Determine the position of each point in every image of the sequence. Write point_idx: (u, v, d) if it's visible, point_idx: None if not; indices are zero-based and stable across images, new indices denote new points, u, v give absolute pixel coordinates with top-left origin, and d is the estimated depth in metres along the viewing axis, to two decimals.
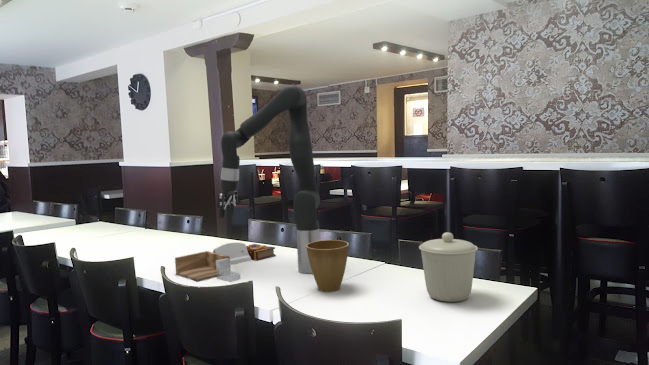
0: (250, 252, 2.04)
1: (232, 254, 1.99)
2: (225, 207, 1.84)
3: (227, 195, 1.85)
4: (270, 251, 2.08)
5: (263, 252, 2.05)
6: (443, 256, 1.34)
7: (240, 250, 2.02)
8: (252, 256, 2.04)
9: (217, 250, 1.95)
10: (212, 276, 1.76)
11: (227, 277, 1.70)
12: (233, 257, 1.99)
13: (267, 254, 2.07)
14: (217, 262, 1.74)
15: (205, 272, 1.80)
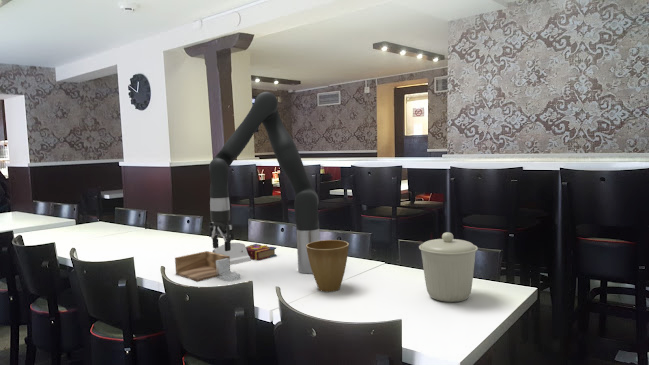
0: (251, 252, 2.04)
1: (232, 254, 1.99)
2: None
3: None
4: (271, 251, 2.08)
5: (264, 252, 2.05)
6: (443, 256, 1.34)
7: (239, 250, 2.02)
8: (253, 256, 2.04)
9: (217, 250, 1.95)
10: (212, 276, 1.76)
11: (227, 277, 1.70)
12: (233, 257, 1.99)
13: (268, 254, 2.07)
14: (217, 262, 1.74)
15: (205, 272, 1.80)
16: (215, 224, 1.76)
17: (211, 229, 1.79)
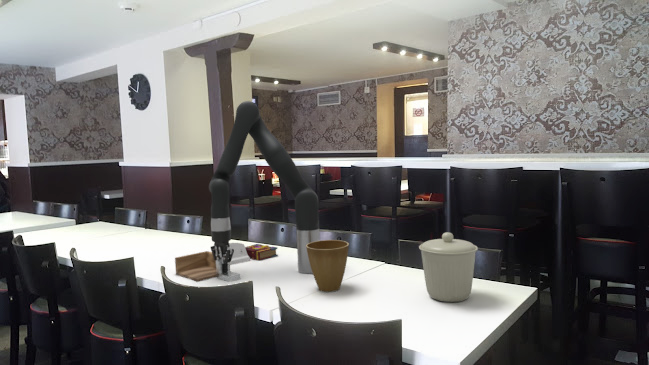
0: (252, 252, 2.04)
1: None
2: None
3: None
4: (272, 251, 2.08)
5: (265, 252, 2.05)
6: (443, 256, 1.34)
7: (239, 250, 2.02)
8: (254, 256, 2.04)
9: None
10: (212, 276, 1.76)
11: (227, 277, 1.70)
12: (232, 257, 1.98)
13: (269, 254, 2.07)
14: (217, 262, 1.74)
15: (205, 272, 1.80)
16: (216, 244, 1.76)
17: (214, 252, 1.78)
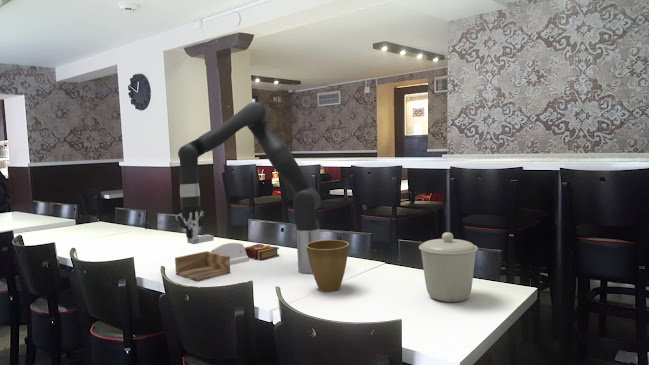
0: (254, 252, 2.04)
1: (230, 254, 1.98)
2: None
3: None
4: (274, 251, 2.08)
5: (267, 252, 2.05)
6: (443, 256, 1.34)
7: (238, 250, 2.01)
8: (256, 256, 2.03)
9: (216, 251, 1.94)
10: (212, 276, 1.76)
11: (210, 237, 1.81)
12: (231, 257, 1.98)
13: (271, 254, 2.07)
14: (195, 227, 1.76)
15: (205, 272, 1.80)
16: (187, 211, 1.75)
17: None
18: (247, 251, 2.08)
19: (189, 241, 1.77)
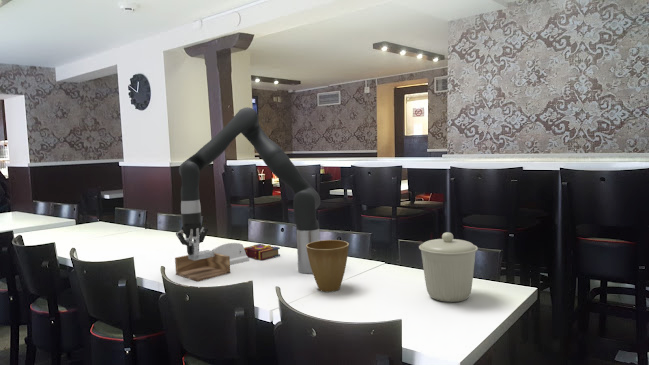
0: (255, 252, 2.04)
1: (230, 254, 1.98)
2: None
3: None
4: (275, 251, 2.08)
5: (268, 252, 2.05)
6: (443, 256, 1.34)
7: (238, 250, 2.01)
8: (257, 256, 2.03)
9: (215, 251, 1.94)
10: (212, 276, 1.76)
11: (211, 253, 1.81)
12: (231, 257, 1.98)
13: (272, 254, 2.07)
14: (196, 244, 1.76)
15: (205, 272, 1.80)
16: (188, 227, 1.75)
17: None
18: (248, 251, 2.08)
19: (190, 257, 1.78)
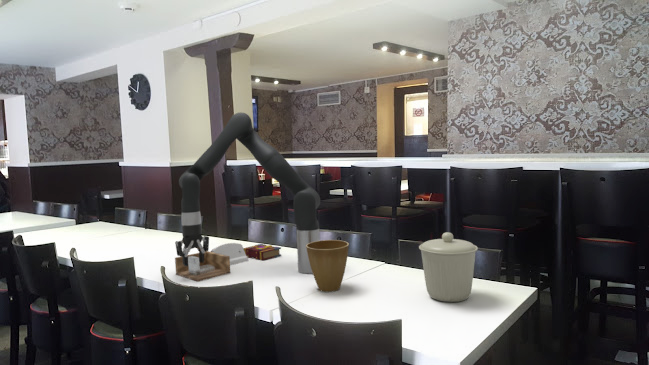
0: (256, 252, 2.04)
1: (230, 255, 1.98)
2: (199, 250, 1.81)
3: None
4: (276, 251, 2.08)
5: (269, 252, 2.05)
6: (443, 256, 1.34)
7: (237, 250, 2.01)
8: (258, 256, 2.03)
9: (215, 251, 1.94)
10: (212, 276, 1.76)
11: (211, 268, 1.81)
12: (231, 258, 1.98)
13: (273, 254, 2.06)
14: (197, 259, 1.76)
15: None
16: (189, 239, 1.75)
17: None
18: (249, 251, 2.08)
19: (190, 272, 1.78)
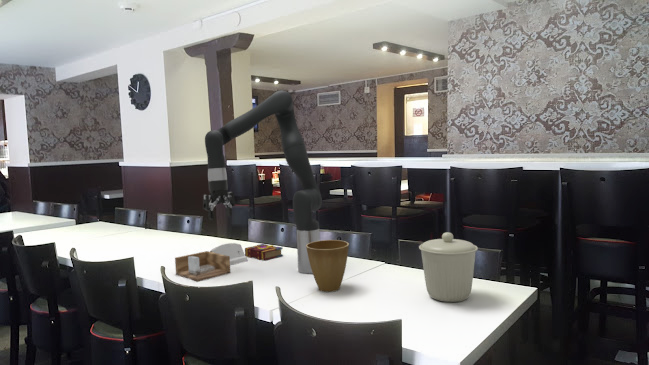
0: (257, 252, 2.04)
1: (229, 255, 1.98)
2: (226, 206, 1.87)
3: None
4: (277, 251, 2.08)
5: (270, 252, 2.05)
6: (443, 256, 1.34)
7: (236, 251, 2.01)
8: (259, 256, 2.03)
9: (214, 251, 1.93)
10: (212, 276, 1.76)
11: (211, 268, 1.81)
12: (230, 258, 1.98)
13: (274, 254, 2.06)
14: (197, 259, 1.76)
15: None
16: (216, 194, 1.81)
17: None
18: (251, 251, 2.08)
19: (190, 272, 1.78)
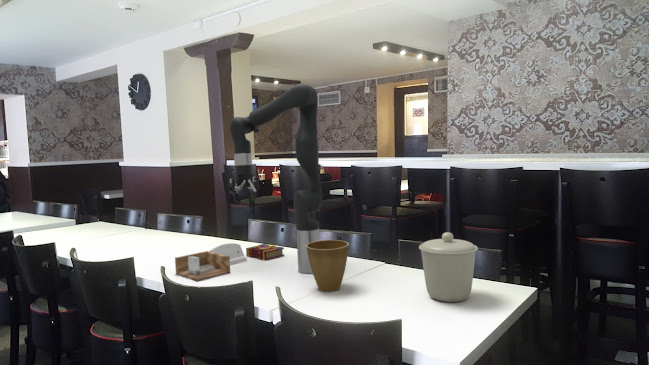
0: (259, 252, 2.04)
1: (228, 255, 1.97)
2: None
3: None
4: (279, 251, 2.08)
5: (272, 252, 2.04)
6: (443, 256, 1.34)
7: (235, 251, 2.01)
8: (261, 256, 2.03)
9: (214, 251, 1.93)
10: (212, 276, 1.76)
11: (211, 268, 1.81)
12: None
13: (276, 254, 2.06)
14: (197, 259, 1.76)
15: None
16: (241, 178, 1.89)
17: None
18: (252, 251, 2.08)
19: (190, 272, 1.78)
